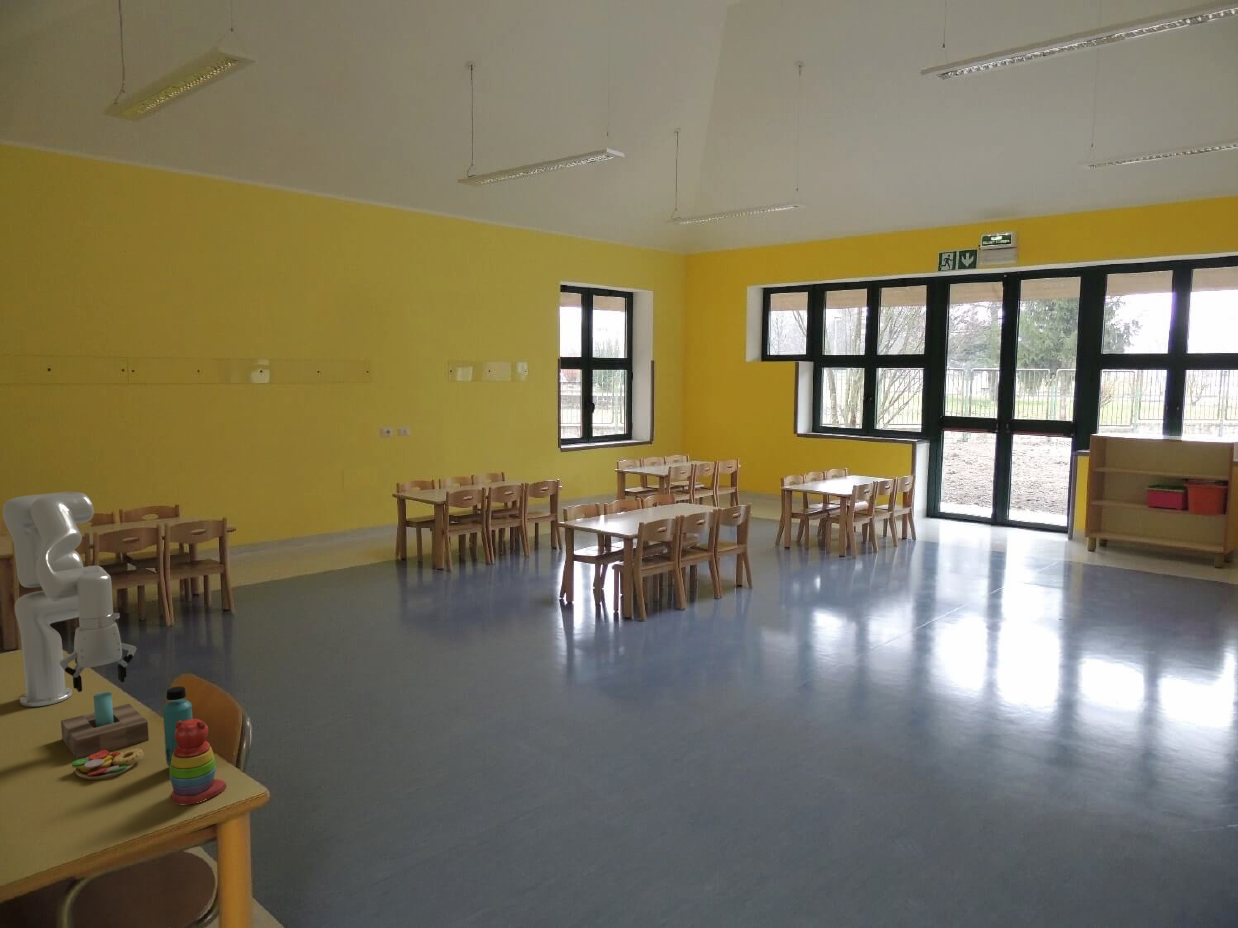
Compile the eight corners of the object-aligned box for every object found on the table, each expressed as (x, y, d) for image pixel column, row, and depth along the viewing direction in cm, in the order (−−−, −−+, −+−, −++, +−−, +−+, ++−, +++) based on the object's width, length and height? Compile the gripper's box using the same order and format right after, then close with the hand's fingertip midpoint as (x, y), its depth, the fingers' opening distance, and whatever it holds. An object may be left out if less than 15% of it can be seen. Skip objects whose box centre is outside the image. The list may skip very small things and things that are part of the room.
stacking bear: (230, 785, 202) (226, 711, 200) (205, 807, 192) (200, 730, 190) (186, 782, 203) (181, 709, 201) (159, 804, 193) (154, 728, 191)
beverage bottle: (202, 764, 212) (197, 685, 209) (178, 776, 206) (173, 695, 203) (183, 759, 214) (179, 681, 212) (159, 770, 208) (154, 690, 206)
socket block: (62, 738, 226) (60, 720, 225) (130, 721, 237) (129, 703, 236) (77, 759, 214) (76, 740, 213) (148, 739, 225) (147, 721, 225)
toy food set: (151, 760, 214) (150, 748, 214) (106, 786, 202) (105, 772, 201) (107, 754, 218) (106, 741, 217) (61, 778, 205) (60, 765, 205)
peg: (95, 739, 225) (91, 694, 224) (112, 734, 228) (109, 690, 227) (99, 744, 223) (95, 699, 221) (116, 739, 225) (113, 695, 224)
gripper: (129, 611, 230) (133, 672, 233) (53, 624, 218) (58, 689, 221) (138, 617, 225) (141, 681, 227) (60, 632, 213) (65, 698, 215)
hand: (100, 685), depth 224 cm, fingers open, 9 cm apart
